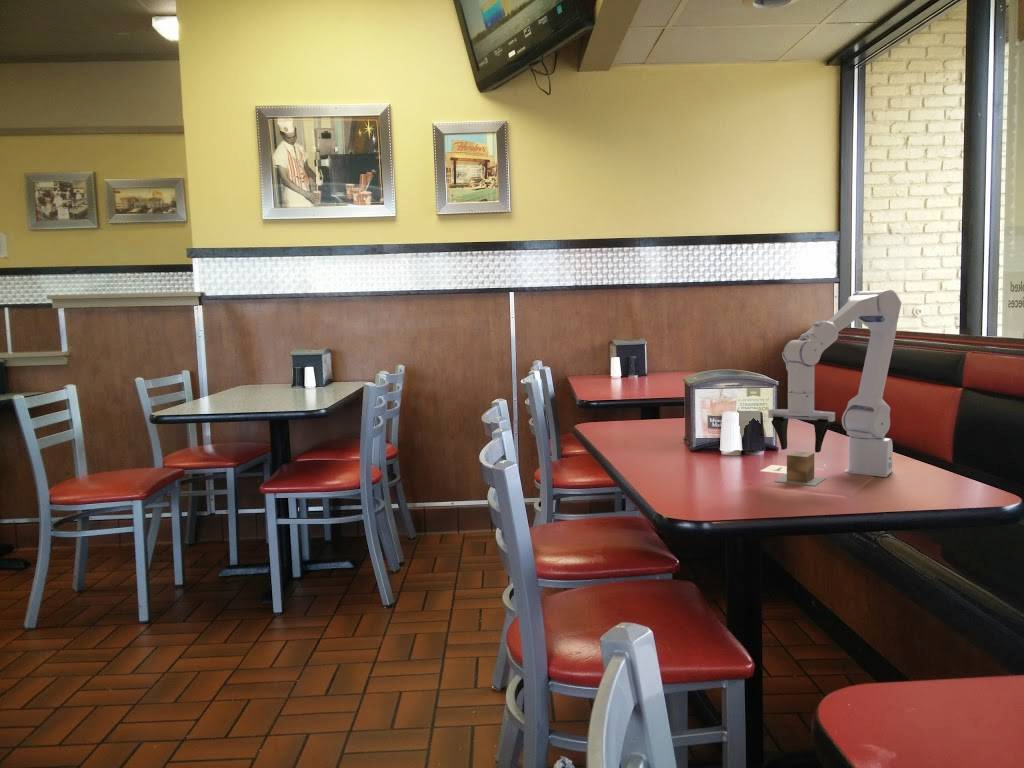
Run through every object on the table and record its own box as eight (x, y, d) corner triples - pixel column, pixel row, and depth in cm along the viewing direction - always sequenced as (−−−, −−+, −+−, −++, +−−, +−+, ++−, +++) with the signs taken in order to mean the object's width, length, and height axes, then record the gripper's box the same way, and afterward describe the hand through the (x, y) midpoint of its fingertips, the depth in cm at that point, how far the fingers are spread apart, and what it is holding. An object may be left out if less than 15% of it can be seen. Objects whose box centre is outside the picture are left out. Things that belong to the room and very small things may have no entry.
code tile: (807, 469, 192) (807, 468, 192) (796, 476, 185) (796, 474, 185) (771, 466, 197) (771, 464, 197) (759, 472, 190) (759, 471, 190)
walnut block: (814, 478, 180) (814, 452, 179) (806, 482, 175) (806, 456, 175) (794, 475, 183) (794, 451, 182) (786, 480, 178) (786, 455, 177)
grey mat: (825, 480, 180) (825, 477, 180) (814, 488, 173) (814, 485, 173) (786, 476, 185) (786, 473, 185) (774, 483, 178) (774, 480, 178)
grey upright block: (757, 450, 221) (757, 408, 219) (760, 452, 216) (761, 410, 215) (736, 450, 221) (736, 408, 220) (738, 452, 217) (738, 410, 216)
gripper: (763, 392, 178) (763, 450, 179) (829, 395, 169) (828, 455, 171) (773, 389, 184) (773, 445, 185) (837, 391, 175) (837, 450, 176)
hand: (800, 450), depth 178 cm, fingers open, 7 cm apart
